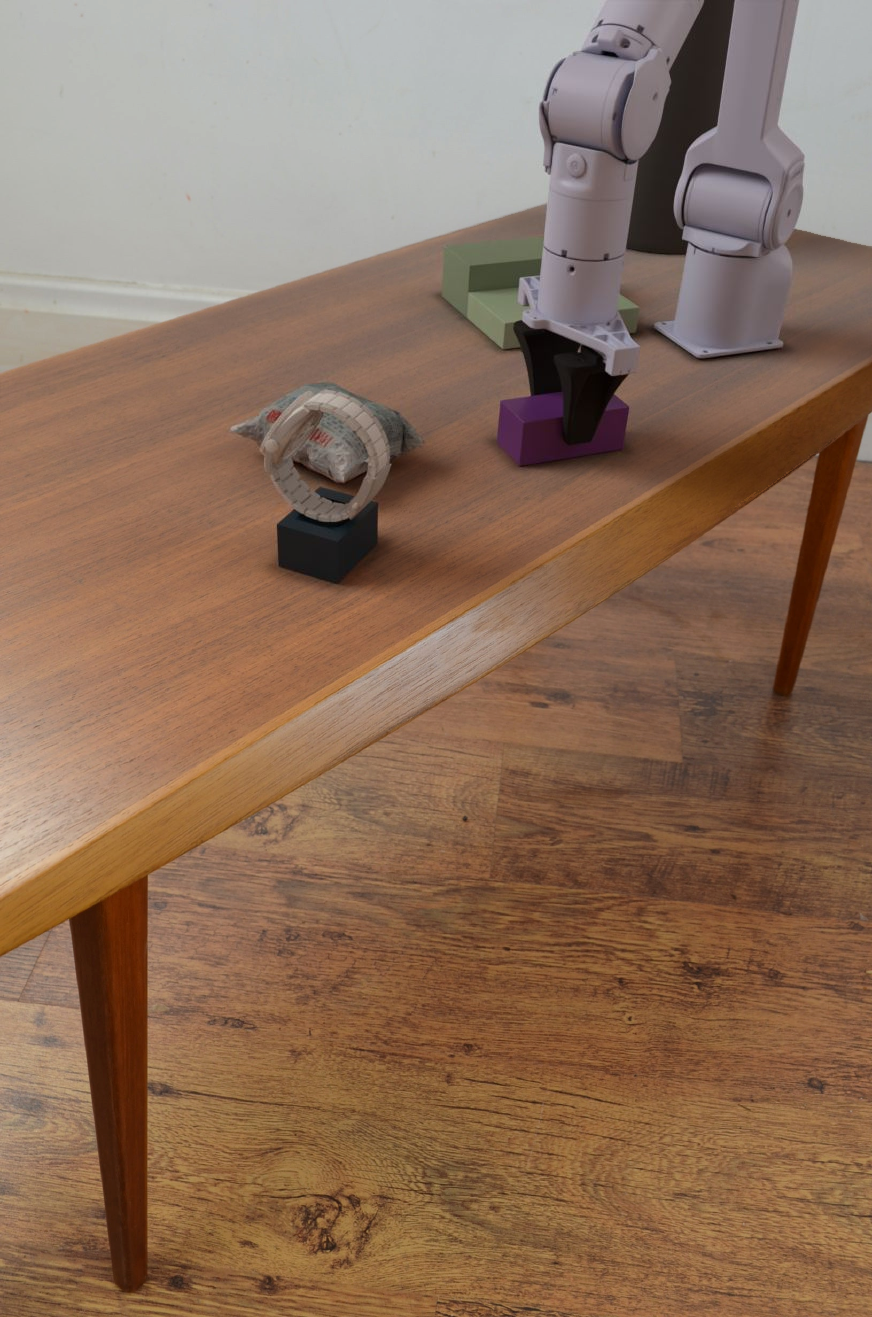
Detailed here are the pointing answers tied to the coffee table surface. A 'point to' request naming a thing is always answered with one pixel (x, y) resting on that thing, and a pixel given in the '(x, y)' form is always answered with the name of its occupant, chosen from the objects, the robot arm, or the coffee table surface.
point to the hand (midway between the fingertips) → (562, 427)
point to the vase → (680, 129)
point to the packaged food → (335, 435)
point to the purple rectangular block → (554, 429)
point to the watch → (325, 489)
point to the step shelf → (500, 285)
